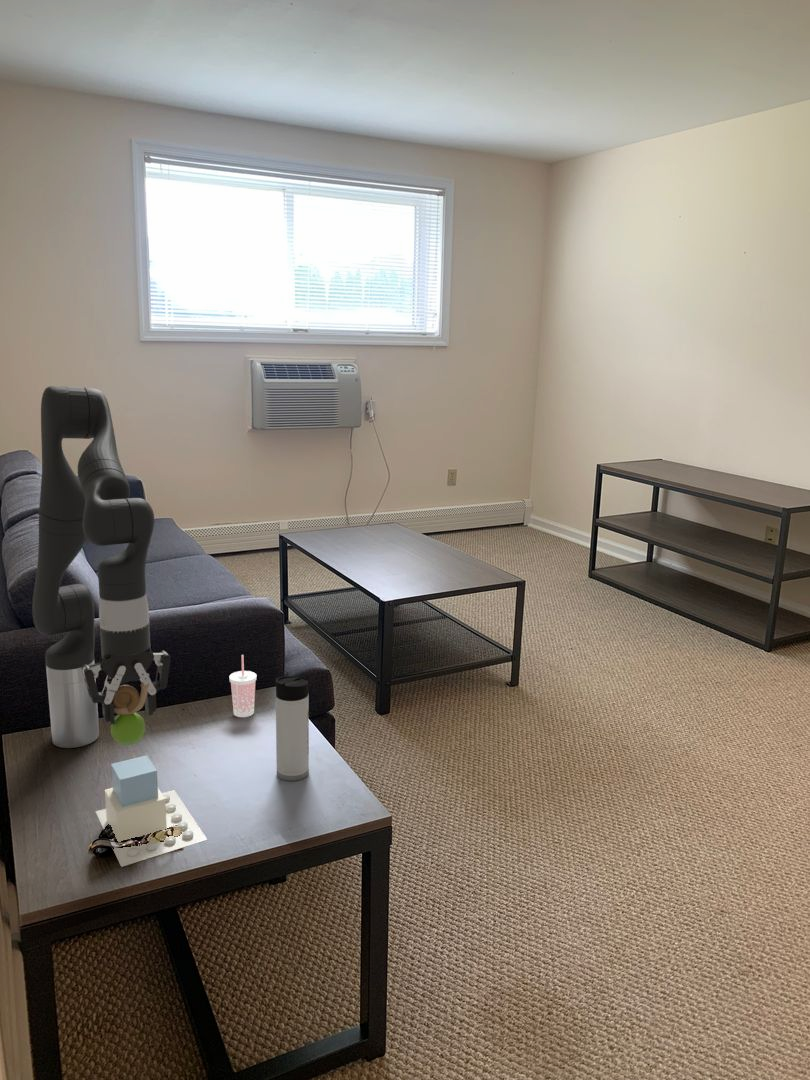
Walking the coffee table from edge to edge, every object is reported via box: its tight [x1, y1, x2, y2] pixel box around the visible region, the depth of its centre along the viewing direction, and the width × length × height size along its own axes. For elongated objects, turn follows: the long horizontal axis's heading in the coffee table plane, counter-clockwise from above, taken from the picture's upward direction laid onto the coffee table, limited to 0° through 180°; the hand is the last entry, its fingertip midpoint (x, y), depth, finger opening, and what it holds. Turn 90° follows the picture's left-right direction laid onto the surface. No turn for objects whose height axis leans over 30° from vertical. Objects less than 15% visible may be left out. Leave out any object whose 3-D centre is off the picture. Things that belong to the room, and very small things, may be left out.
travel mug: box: [275, 675, 310, 782], centre depth 154 cm, size 6×7×20 cm
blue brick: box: [110, 754, 159, 807], centre depth 135 cm, size 6×6×5 cm
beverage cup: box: [229, 654, 257, 718], centre depth 181 cm, size 6×6×14 cm
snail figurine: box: [110, 672, 150, 746], centre depth 132 cm, size 5×6×12 cm
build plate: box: [94, 789, 208, 868], centre depth 137 cm, size 18×14×2 cm
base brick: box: [104, 787, 167, 842], centre depth 136 cm, size 8×8×6 cm
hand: (130, 717), depth 132 cm, fingers closed on snail figurine, 5 cm apart
